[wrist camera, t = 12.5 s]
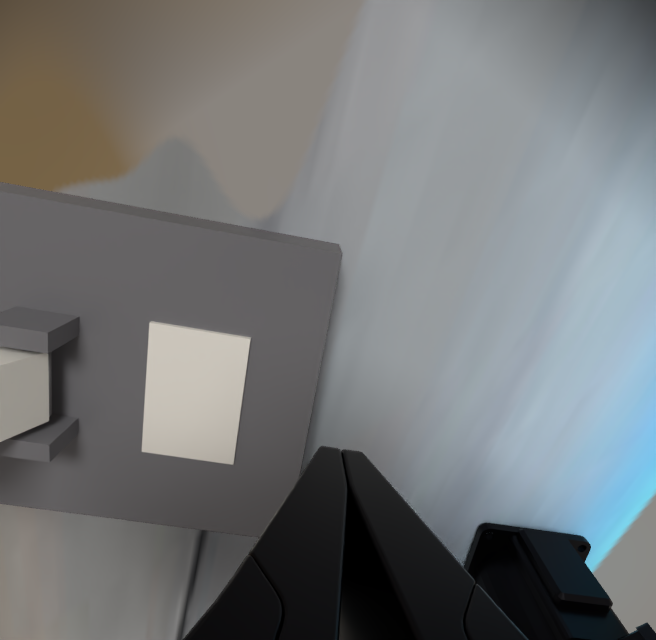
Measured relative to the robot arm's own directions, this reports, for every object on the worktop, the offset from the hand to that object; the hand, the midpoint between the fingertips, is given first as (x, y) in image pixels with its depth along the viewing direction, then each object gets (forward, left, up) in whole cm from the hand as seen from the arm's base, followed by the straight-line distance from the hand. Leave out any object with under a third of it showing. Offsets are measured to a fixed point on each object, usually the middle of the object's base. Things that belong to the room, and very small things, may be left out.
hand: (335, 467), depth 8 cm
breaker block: (-4, +11, -12) cm, 17 cm away
